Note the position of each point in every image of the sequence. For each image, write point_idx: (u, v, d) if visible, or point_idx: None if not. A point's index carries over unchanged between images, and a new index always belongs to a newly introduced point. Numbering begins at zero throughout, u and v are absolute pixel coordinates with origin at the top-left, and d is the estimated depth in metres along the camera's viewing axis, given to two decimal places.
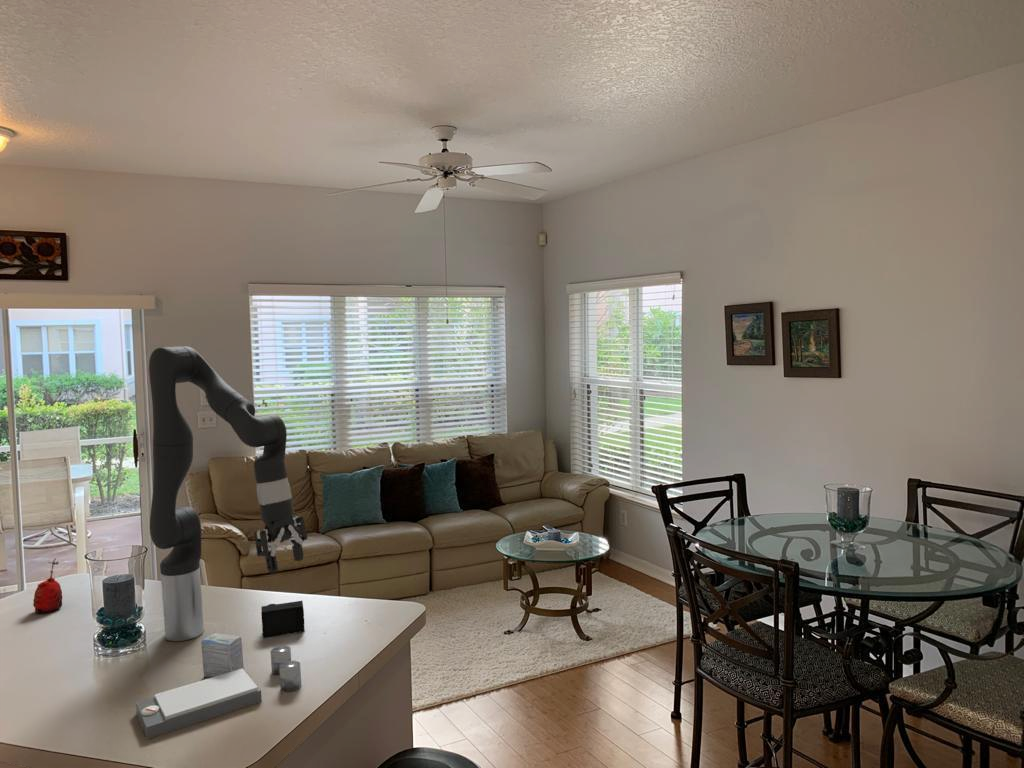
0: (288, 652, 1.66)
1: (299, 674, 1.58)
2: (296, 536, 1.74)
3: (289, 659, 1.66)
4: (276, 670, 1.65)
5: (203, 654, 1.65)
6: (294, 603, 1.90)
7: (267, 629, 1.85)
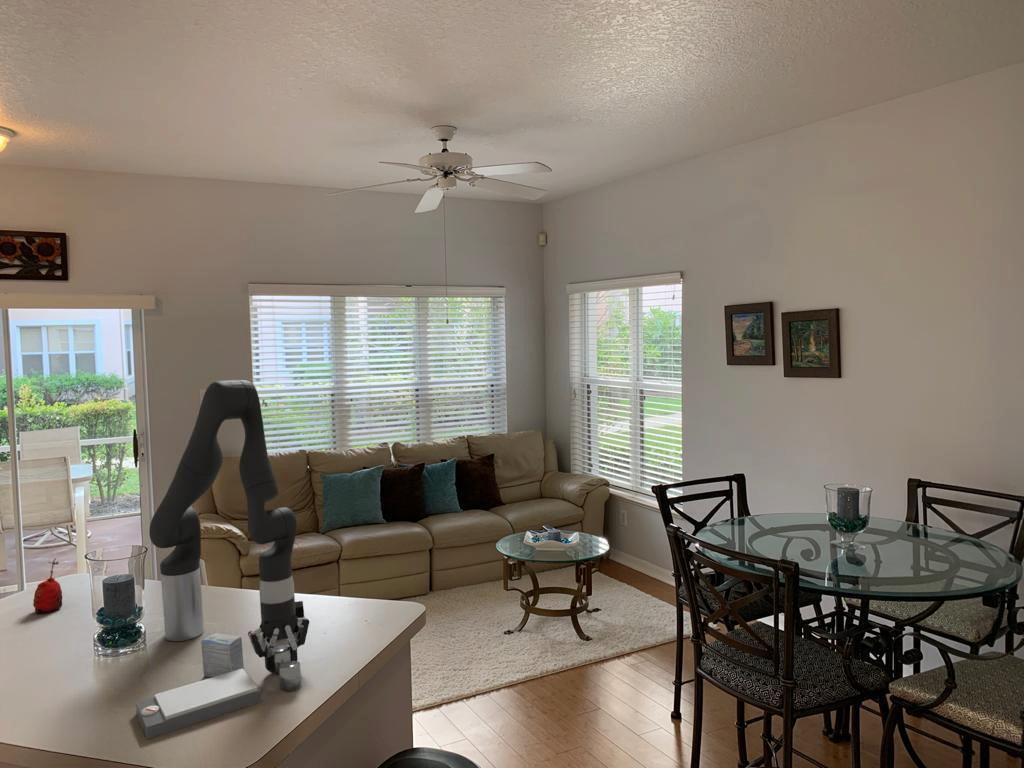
0: (288, 652, 1.66)
1: (299, 674, 1.58)
2: (291, 639, 1.66)
3: (289, 659, 1.66)
4: (276, 670, 1.65)
5: (203, 654, 1.65)
6: None
7: None
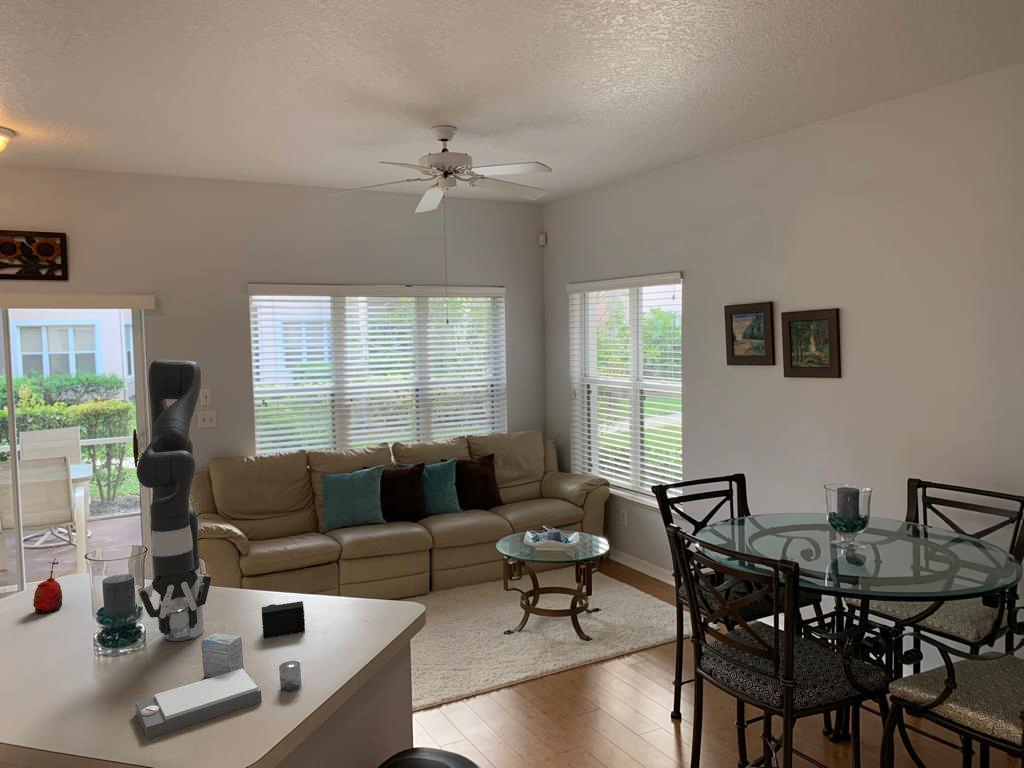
0: (186, 612, 1.47)
1: (299, 674, 1.58)
2: (188, 598, 1.48)
3: (187, 620, 1.48)
4: (171, 632, 1.46)
5: (203, 654, 1.65)
6: (294, 604, 1.89)
7: (267, 630, 1.85)
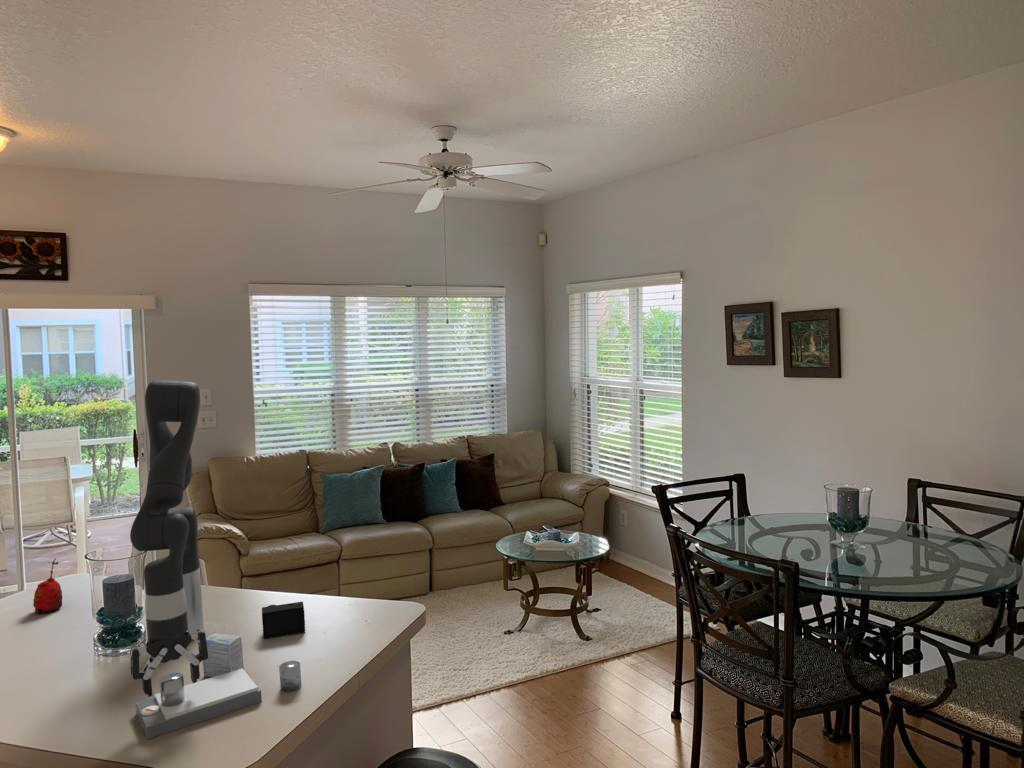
0: (179, 680, 1.47)
1: (299, 674, 1.58)
2: (187, 657, 1.48)
3: (181, 688, 1.48)
4: (165, 701, 1.46)
5: None
6: (295, 604, 1.89)
7: (268, 630, 1.85)
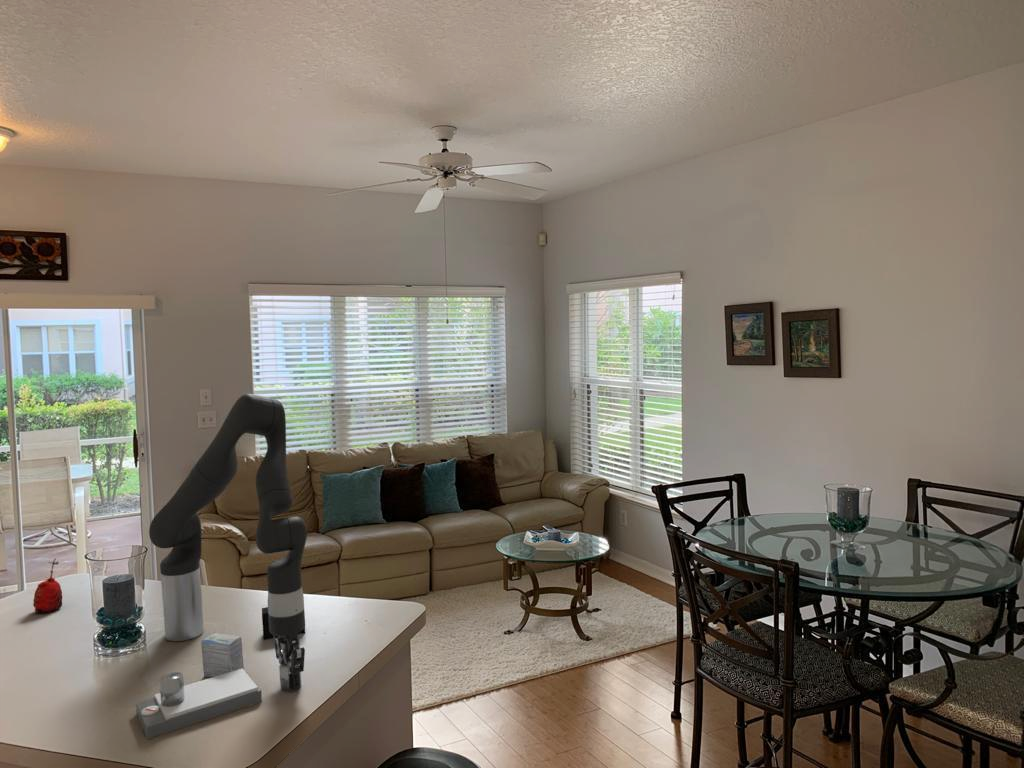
0: (178, 680, 1.47)
1: None
2: (284, 660, 1.56)
3: (180, 688, 1.48)
4: (164, 700, 1.46)
5: (203, 654, 1.65)
6: None
7: (268, 631, 1.84)
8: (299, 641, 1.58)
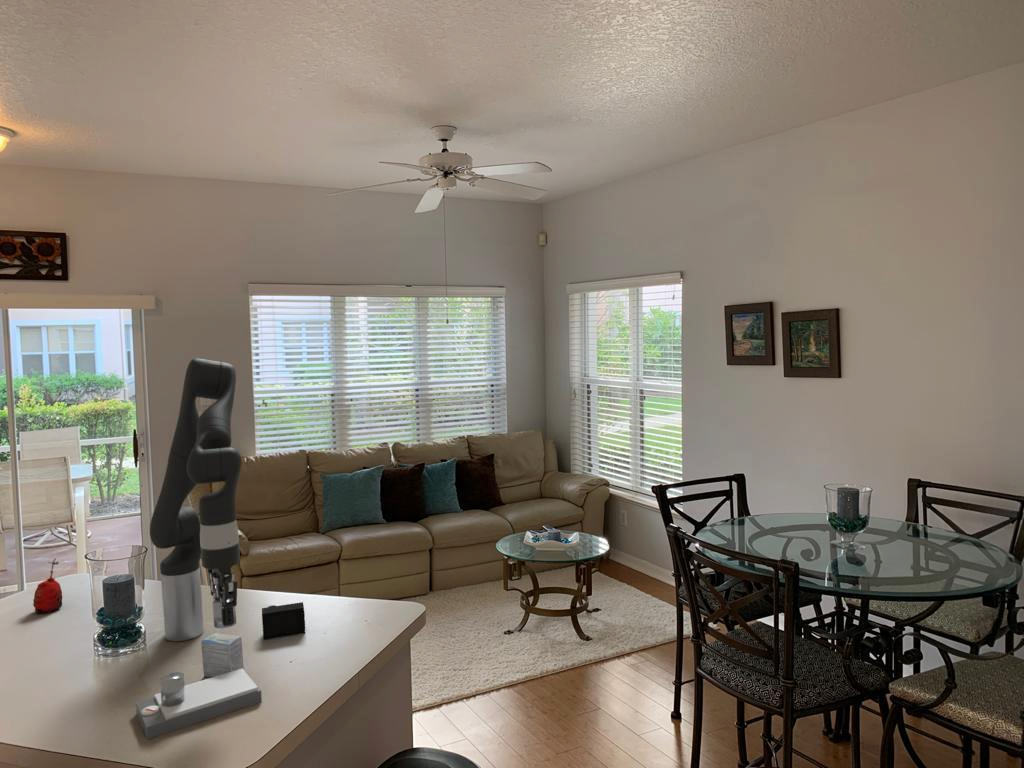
0: (179, 680, 1.47)
1: (233, 610, 1.53)
2: (217, 594, 1.51)
3: (180, 688, 1.48)
4: (164, 700, 1.46)
5: (203, 654, 1.65)
6: (295, 605, 1.89)
7: (268, 631, 1.84)
8: (233, 576, 1.53)
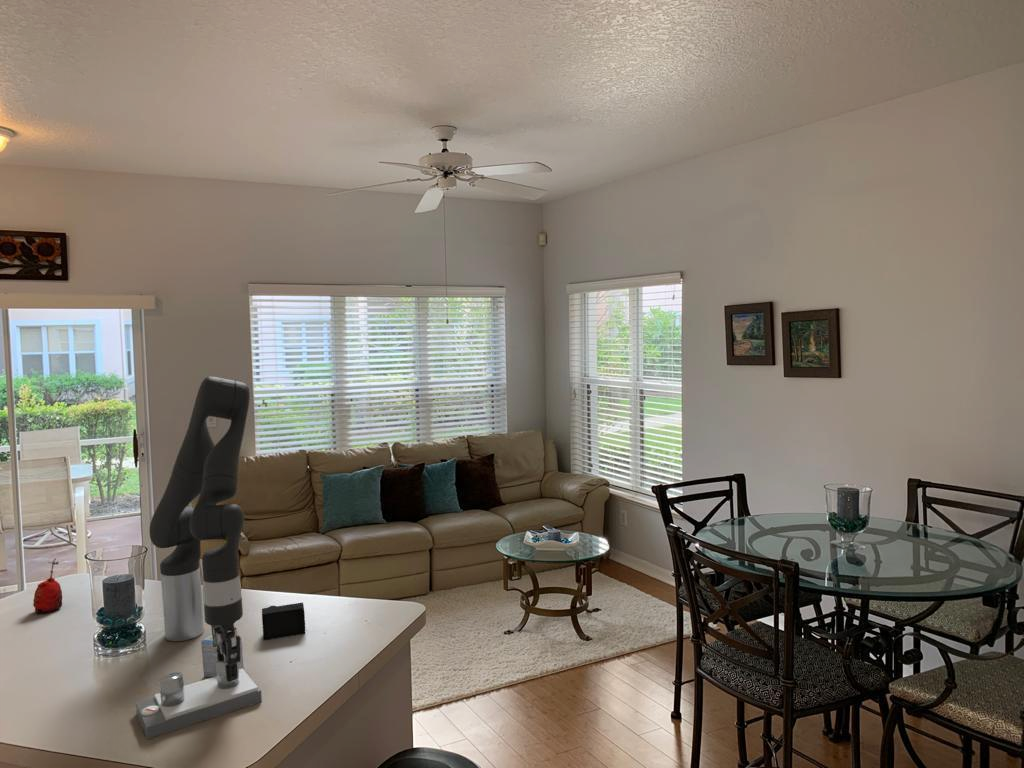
0: (177, 681, 1.47)
1: None
2: (220, 650, 1.51)
3: (179, 689, 1.47)
4: (163, 700, 1.46)
5: (203, 654, 1.65)
6: (295, 605, 1.88)
7: (268, 631, 1.84)
8: (236, 631, 1.54)
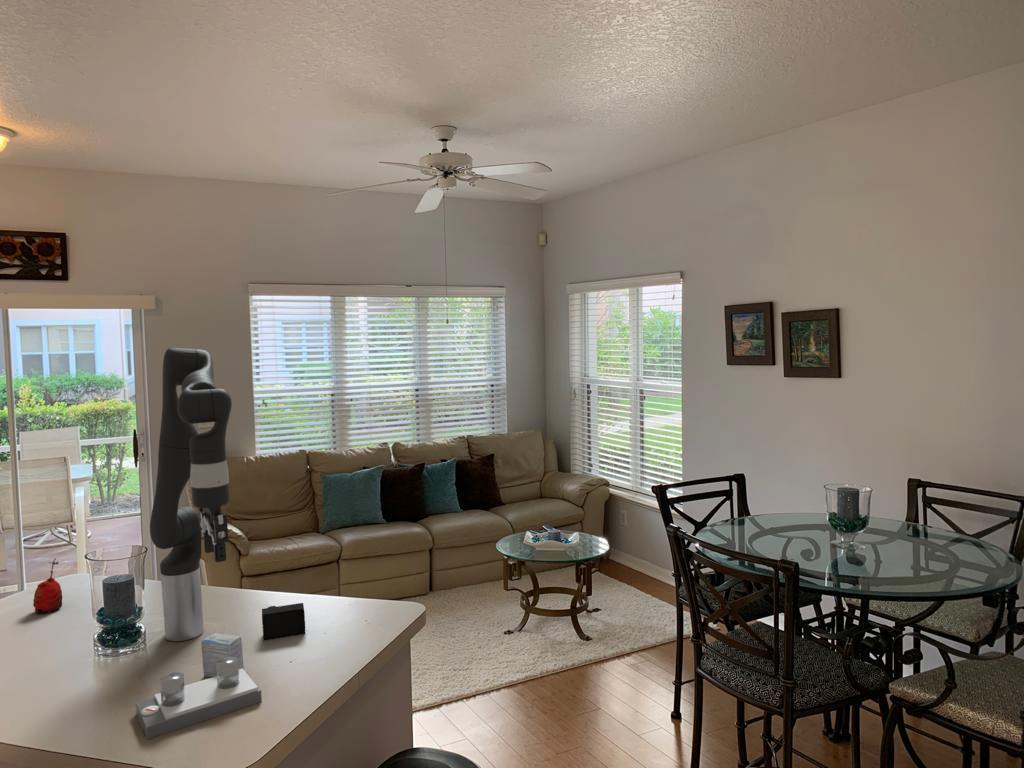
0: (178, 681, 1.47)
1: (236, 670, 1.54)
2: (208, 532, 1.52)
3: (179, 689, 1.47)
4: (163, 700, 1.47)
5: (203, 654, 1.65)
6: (295, 605, 1.88)
7: (268, 632, 1.84)
8: None
